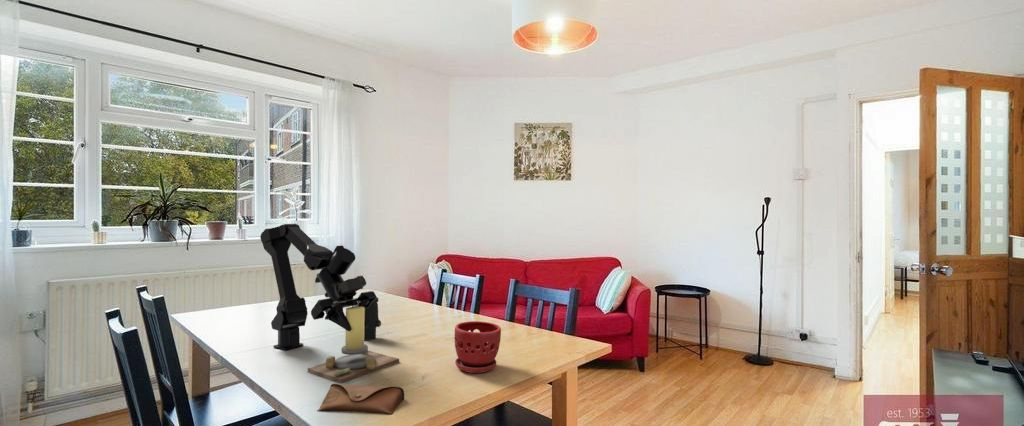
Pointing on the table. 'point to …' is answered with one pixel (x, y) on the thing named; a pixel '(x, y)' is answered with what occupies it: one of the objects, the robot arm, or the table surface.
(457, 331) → the plant pot
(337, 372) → the board
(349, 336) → the yellow pillar candle
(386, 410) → the sunglasses case
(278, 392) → the table surface
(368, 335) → the scope
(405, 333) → the table surface
